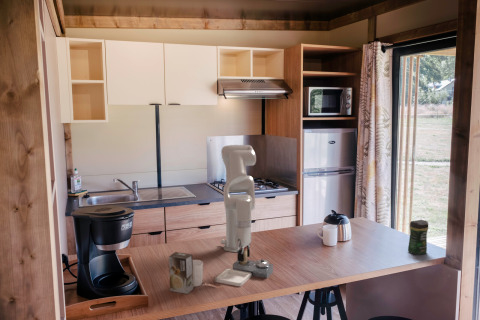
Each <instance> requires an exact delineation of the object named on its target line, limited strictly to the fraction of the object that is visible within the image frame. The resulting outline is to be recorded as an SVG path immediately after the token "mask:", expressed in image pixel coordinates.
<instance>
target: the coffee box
mask: <svg viewBox="0 0 480 320" xmlns="http://www.w3.org/2000/svg"><path fill="white" fill-rule="evenodd" d="M193 260H194V259H193V254H192V253H186V252H177V251H174V252H173V253H171V254H170V255H169V256H168V268H169V269H168V273H169V292H174V293H181V294H185V295H187V294H190V292H191V291H192V290H193V289H194V286H193Z"/></svg>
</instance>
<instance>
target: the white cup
mask: <svg viewBox="0 0 480 320" xmlns="http://www.w3.org/2000/svg"><path fill="white" fill-rule="evenodd" d="M203 271H204V261H203V260H200V259H193V288H194V287H199V286H201V285H202V284H203V274H204V272H203Z"/></svg>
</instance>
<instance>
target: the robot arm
mask: <svg viewBox="0 0 480 320" xmlns="http://www.w3.org/2000/svg"><path fill="white" fill-rule="evenodd" d="M221 148H222V149H221V153H220V154H221V159H222V162H223V164H224V166H225V179H226V180H225V181H226V182H225V185H224V187H223V203H224V209H225V229H226V230H225V236H226V237H225V238H226V239H220V244H221V245H223V250H224V251H225V252H230V253H236V254H237V257H236V258H237V260H238V261H241V262H243V261H244V254H243V250H244V247H246V246H247V258H249V257H250V254H251V252H250V251H251V250H250V249H251V243H252V211H254V210H255V207H256V195H255V194H256V192H255V191H256V190H255V181H254V177H252V176H251V175H248V173H247V166H248V167H249V166H254V165H256V163H257V155H256V152H255V150H254V149H253V146H252V145H250V144H230V145H225V146H223V147H221ZM230 193H246V194H230ZM240 246H242V247H240ZM240 248H242V251H241V249H240ZM237 260H236V261H237Z"/></svg>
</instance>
